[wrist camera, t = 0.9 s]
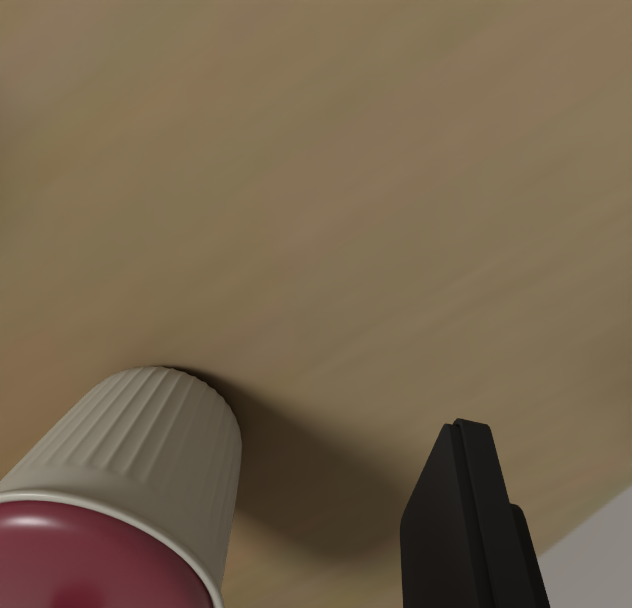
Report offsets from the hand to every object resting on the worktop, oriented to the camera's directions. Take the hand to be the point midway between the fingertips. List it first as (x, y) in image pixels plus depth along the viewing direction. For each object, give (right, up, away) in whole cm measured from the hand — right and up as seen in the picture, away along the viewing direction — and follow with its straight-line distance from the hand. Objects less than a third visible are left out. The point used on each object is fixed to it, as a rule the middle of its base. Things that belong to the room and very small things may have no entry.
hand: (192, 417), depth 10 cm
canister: (-10, -8, +38) cm, 40 cm away
